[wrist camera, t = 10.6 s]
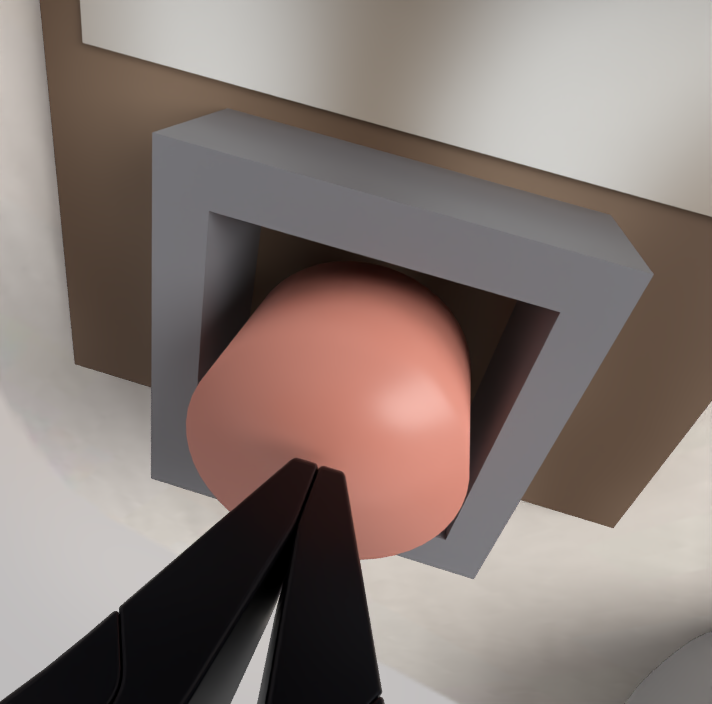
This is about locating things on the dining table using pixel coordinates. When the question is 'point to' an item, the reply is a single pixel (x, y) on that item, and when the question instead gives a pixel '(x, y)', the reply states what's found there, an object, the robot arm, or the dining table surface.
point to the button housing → (396, 246)
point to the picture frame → (424, 144)
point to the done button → (344, 400)
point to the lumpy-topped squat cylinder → (680, 677)
